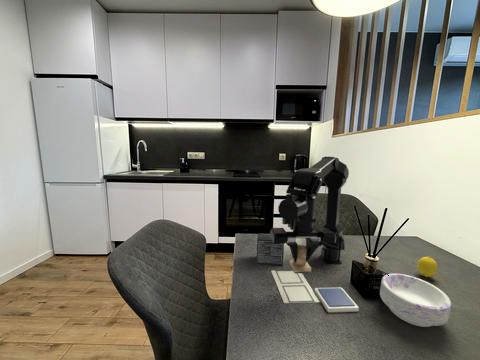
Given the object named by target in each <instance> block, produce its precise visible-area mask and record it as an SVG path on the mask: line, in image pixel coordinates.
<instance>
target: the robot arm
mask: <svg viewBox="0 0 480 360" xmlns="http://www.w3.org/2000/svg"><path fill="white" fill-rule="evenodd" d="M349 173H350V172H349V169H348V167H347V164H345V163H343V162H342V161H340V160H339V158H338V157H336V156H323V157H321V159H320V160H318V161H317V162H316V163H315V164H313V165H312V166H311V167H308V168H307V167H306V168H300V169H297V170H296V171H295V172H294V173H293V175H292V177H291V179H290V182H289V184H288V187H287V189H286V191H285V192H286V195H285V199H283V200H281V201H280V203H279V204H278V207H277V208H278V209H277V210H278V214H279V215H280V217H281V219H282V220H281V222H282V223H281V224H282V225H287V227H288V228H289V229H290V230H291V231H286V230H285V228H284V227H272V228H271V229H270V231H269V234H270V237H271V239H272V240H273V242H274V243H276V244H284V245H285V244H286V245H287V247H289V249H290V252H291V256H292V260H294V262H296V260H297V250H298V245H299V244H298V243H297V242H296V241H297V240H296V239H305V241H306V243H305V246H306V247H307V253H306V262H307V263H308V261H309V260H310V258H311V257H312V256H313V254H314V253H315V252H316V251H317V249H318V248H319V247H321V246H322V248H321V252H320V255H319V256H320V258H321V259H322V260H323V261H324V263H326V264H329V265H334V264H335V265H336V264H337V265H338V264H342V263H343V261H341V260H340V259H341V253H342V252H341V251H345V250H346V249H345V248H346V240H345V238H344V235H343V228H342V227H341V225H340V223H339V221H340V210H341V195H342V188H343V186H345V185H346V183H347V179H348V178H349ZM322 179H323V180H322ZM323 182H324V184H325V186H326V188H327V198H326V217H325V224H324V225H323V226H322V227H316V228H315V231H314V223H316V218H315V207H316V197H318V194H319V191H320V189H321V186H322V184H323Z"/></svg>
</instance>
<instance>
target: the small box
mask: <svg viewBox="0 0 480 360" xmlns="http://www.w3.org/2000/svg"><path fill="white" fill-rule="evenodd" d="M284 249H285V244H276V243H274V242H273V240H272V239H271V237H270V233H257V238H256V261H255V262H256V264H258V265H268V266H269V265H270V266H281V267H283V266H284V253H285V251H284Z"/></svg>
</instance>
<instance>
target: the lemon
mask: <svg viewBox="0 0 480 360" xmlns="http://www.w3.org/2000/svg"><path fill="white" fill-rule="evenodd" d="M417 270H418V272H419V273H420V275H422V276H423V277H424V276H425V277H424V278H428V277H430V278H432V277H434V276H435V275H436V274H437V272H438V264H437V262H436V261H435V259H434V258H431V257H430V256H422V257H421V258H420V259H419V260H418V261H417Z"/></svg>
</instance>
